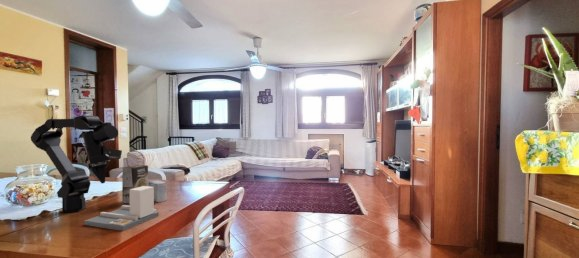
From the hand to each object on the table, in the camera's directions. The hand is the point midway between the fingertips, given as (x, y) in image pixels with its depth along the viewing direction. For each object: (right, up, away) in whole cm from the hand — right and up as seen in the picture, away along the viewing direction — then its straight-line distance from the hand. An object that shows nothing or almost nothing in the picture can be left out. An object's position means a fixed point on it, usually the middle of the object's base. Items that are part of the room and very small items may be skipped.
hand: (103, 183), depth 102 cm
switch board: (+12, -12, -7) cm, 19 cm away
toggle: (+19, -10, -6) cm, 22 cm away
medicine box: (+12, -12, +19) cm, 25 cm away
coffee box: (+2, -12, +18) cm, 22 cm away
